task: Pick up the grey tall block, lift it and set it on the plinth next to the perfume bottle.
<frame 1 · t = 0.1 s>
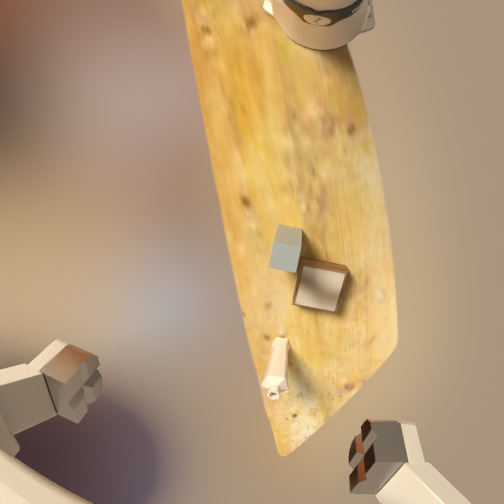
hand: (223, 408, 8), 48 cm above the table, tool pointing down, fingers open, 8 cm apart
grey tall block: (288, 237, 56), on the table
plinth: (319, 281, 58), on the table
perfume bottle: (281, 343, 64), on the table
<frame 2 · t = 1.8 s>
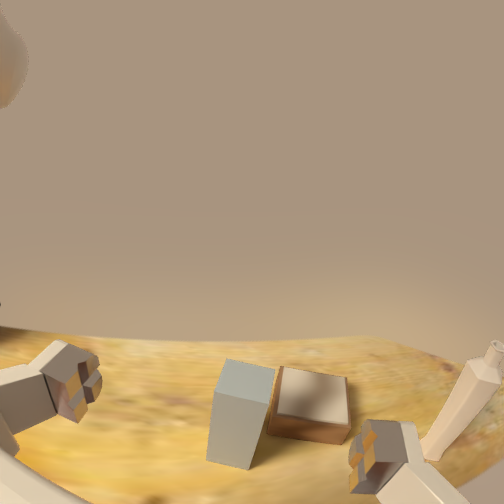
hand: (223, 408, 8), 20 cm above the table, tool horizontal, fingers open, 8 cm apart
grey tall block: (231, 449, 27), on the table
plinth: (306, 413, 33), on the table
perfume bottle: (428, 449, 28), on the table
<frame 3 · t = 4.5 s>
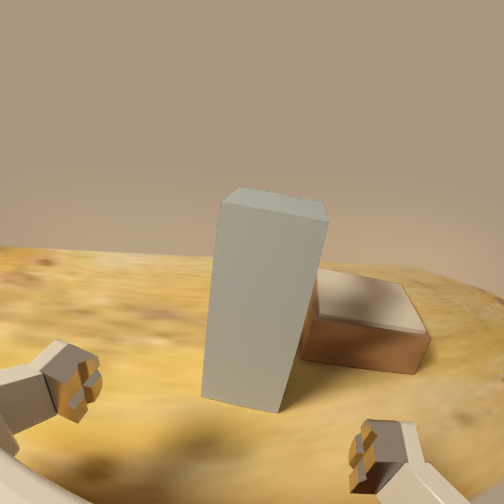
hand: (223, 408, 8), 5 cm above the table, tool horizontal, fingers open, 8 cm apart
grey tall block: (245, 381, 17), on the table
plinth: (354, 334, 23), on the table
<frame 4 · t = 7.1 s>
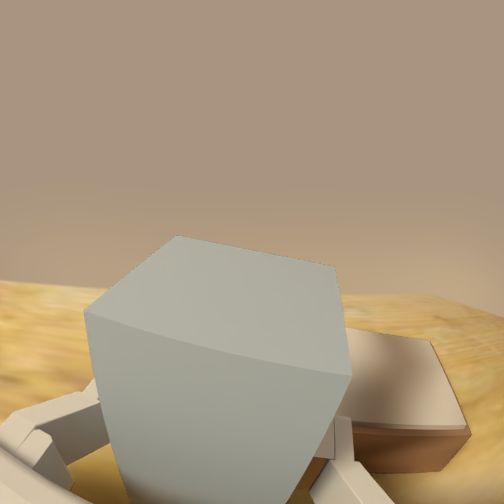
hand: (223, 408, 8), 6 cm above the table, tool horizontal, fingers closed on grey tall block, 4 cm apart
plinth: (365, 415, 15), on the table
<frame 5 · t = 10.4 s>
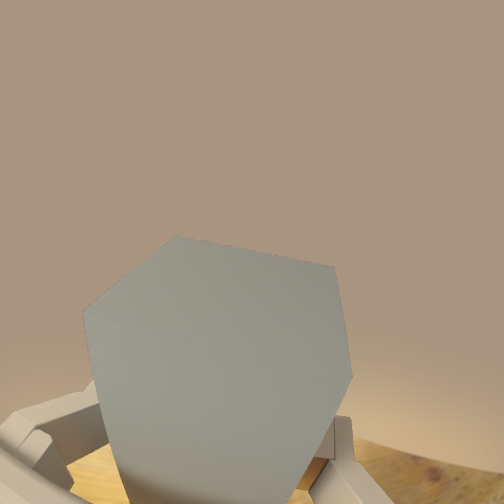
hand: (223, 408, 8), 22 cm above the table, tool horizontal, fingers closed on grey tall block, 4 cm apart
when the fingers open (10 cm above the table, at t = 13.7 s): grey tall block drops 1 cm, resting on plinth.
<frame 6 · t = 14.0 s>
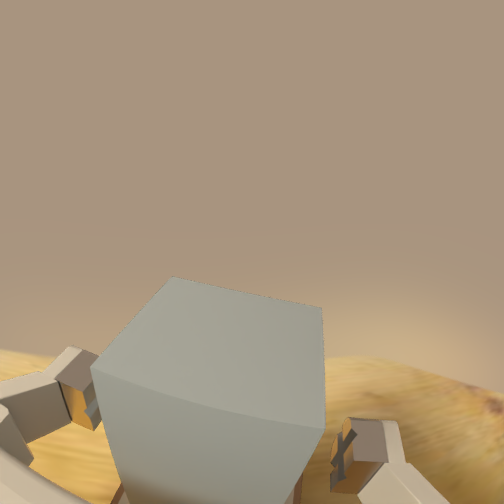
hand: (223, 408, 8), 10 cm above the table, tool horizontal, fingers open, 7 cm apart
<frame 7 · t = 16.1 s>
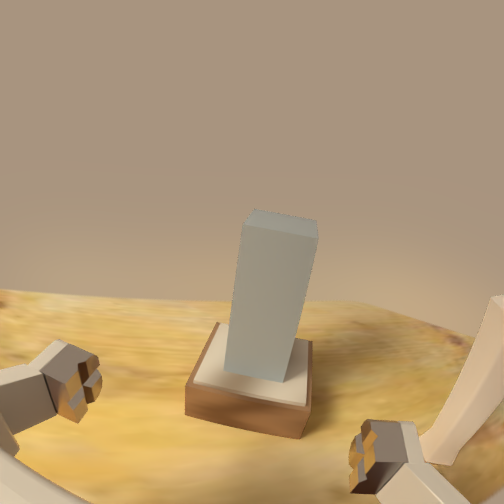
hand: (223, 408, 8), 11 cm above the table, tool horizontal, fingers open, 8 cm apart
grey tall block: (257, 359, 22), point 3 cm above the table, touching plinth
plinth: (251, 391, 23), on the table
perfume bottle: (435, 448, 18), on the table
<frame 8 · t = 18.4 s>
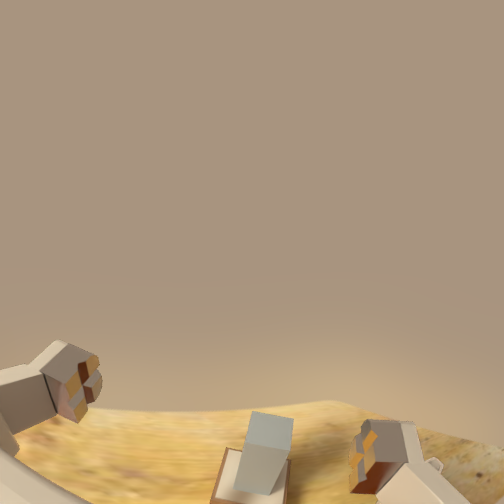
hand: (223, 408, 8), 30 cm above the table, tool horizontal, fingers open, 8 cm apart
grey tall block: (253, 478, 30), point 3 cm above the table, touching plinth
plinth: (249, 490, 31), on the table
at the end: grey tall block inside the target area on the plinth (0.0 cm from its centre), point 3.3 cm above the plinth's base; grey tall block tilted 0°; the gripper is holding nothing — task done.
